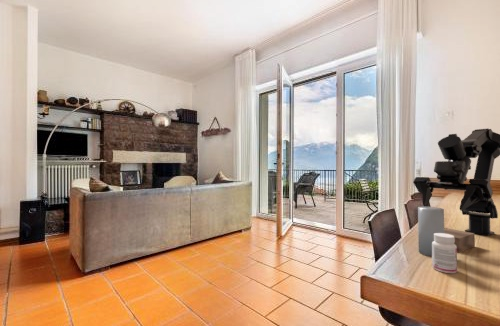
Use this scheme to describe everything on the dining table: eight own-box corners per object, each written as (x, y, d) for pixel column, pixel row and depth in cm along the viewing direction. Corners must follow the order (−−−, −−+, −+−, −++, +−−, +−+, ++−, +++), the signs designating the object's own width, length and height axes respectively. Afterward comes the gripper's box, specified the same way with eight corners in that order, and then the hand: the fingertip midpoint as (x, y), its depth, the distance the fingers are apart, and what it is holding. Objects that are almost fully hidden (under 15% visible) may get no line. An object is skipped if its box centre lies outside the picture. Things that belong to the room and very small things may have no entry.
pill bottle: (462, 274, 56) (461, 238, 56) (438, 273, 57) (438, 237, 57) (449, 266, 61) (449, 232, 61) (428, 264, 62) (427, 231, 62)
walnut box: (437, 237, 84) (437, 226, 84) (474, 246, 75) (474, 233, 75) (421, 242, 79) (421, 230, 79) (459, 252, 70) (459, 238, 70)
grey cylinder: (425, 248, 73) (424, 205, 73) (448, 254, 68) (448, 208, 68) (414, 252, 71) (413, 207, 71) (438, 259, 65) (437, 211, 65)
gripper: (415, 153, 84) (398, 187, 78) (488, 150, 68) (474, 192, 62) (426, 175, 88) (411, 209, 82) (498, 177, 72) (485, 219, 66)
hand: (441, 207), depth 73 cm, fingers open, 9 cm apart
